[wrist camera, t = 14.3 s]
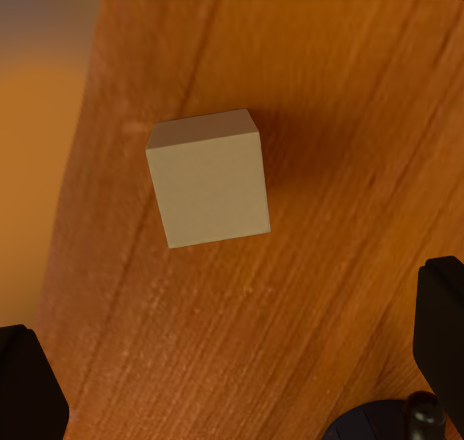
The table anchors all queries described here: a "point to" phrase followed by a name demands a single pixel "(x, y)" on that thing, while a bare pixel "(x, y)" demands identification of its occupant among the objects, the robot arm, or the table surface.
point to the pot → (393, 420)
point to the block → (209, 178)
